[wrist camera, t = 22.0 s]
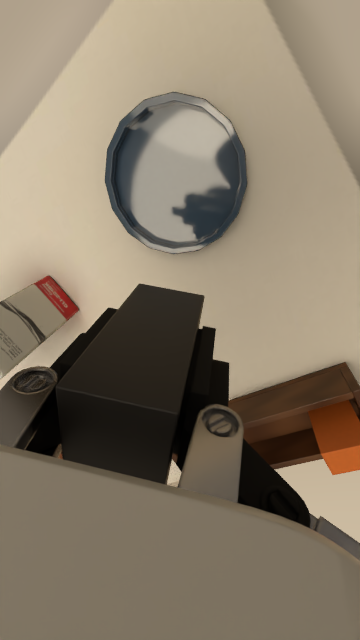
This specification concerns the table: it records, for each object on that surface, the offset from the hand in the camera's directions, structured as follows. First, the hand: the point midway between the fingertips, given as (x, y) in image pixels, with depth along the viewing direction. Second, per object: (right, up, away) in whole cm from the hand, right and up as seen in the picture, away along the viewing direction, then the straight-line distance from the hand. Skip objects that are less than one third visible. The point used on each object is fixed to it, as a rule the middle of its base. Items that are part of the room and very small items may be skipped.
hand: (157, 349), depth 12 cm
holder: (+11, -10, +22) cm, 27 cm away
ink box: (-15, +2, +20) cm, 25 cm away
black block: (0, +1, +2) cm, 2 cm away
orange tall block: (+17, -8, +19) cm, 26 cm away
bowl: (+1, +13, +12) cm, 17 cm away
